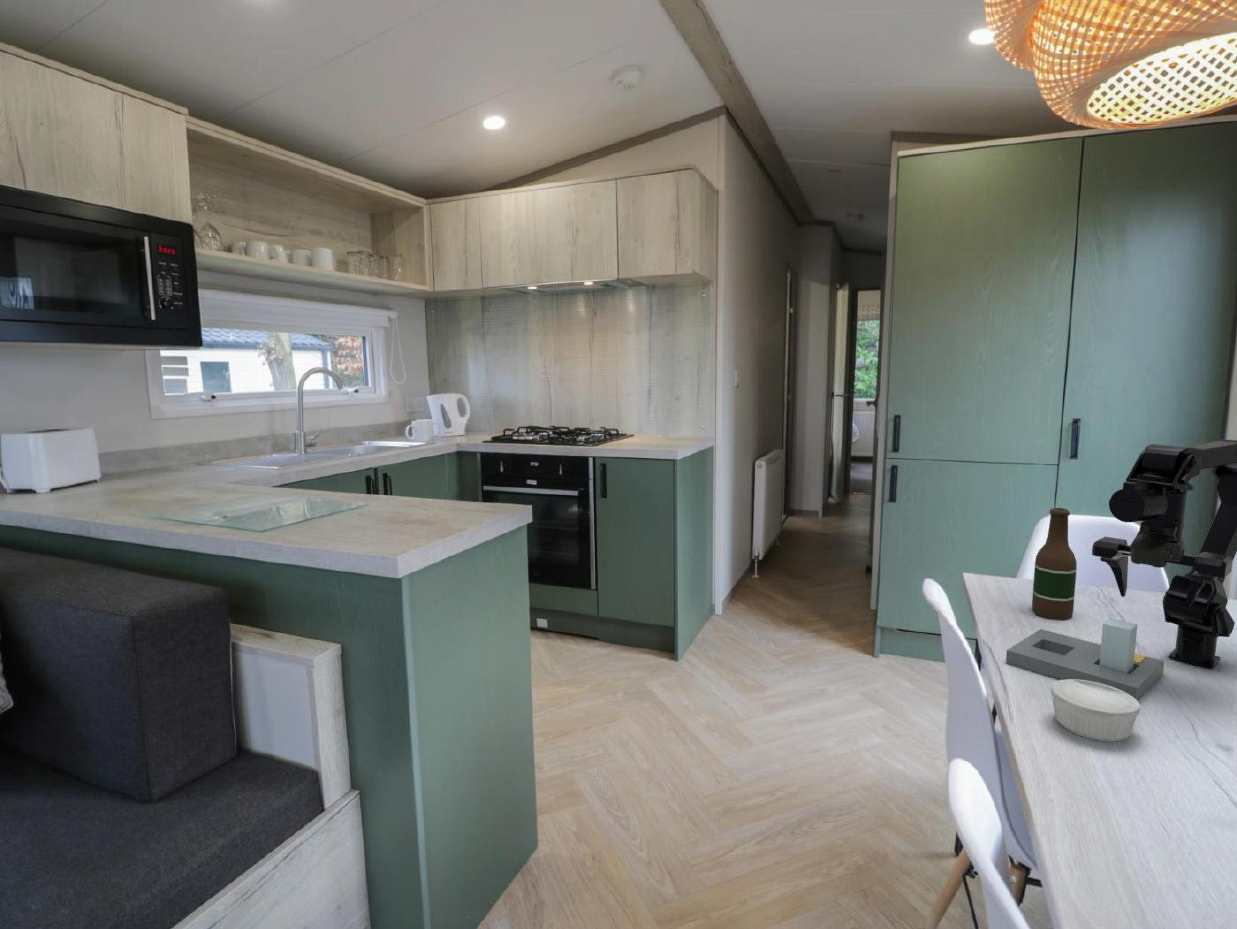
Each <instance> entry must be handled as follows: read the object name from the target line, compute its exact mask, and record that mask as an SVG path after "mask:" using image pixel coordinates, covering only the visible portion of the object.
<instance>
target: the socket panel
mask: <svg viewBox="0 0 1237 929" xmlns="http://www.w3.org/2000/svg"><path fill="white" fill-rule="evenodd" d="M1100 652H1101V644H1100V643H1096V642H1093V641H1089V640H1084V639H1081V638H1077V637H1073V636H1068V635H1065V634H1063V633H1062V634H1061V633H1058V632H1055V631H1050V630H1046V629H1043V628H1040V629H1038V630H1037V631H1035V632H1033V633H1032V634H1030V635H1029V636H1027V637H1026V638H1024V639H1023V640H1020V641H1018V642H1017V643H1016V644H1014V645H1013V646H1011V647H1009V648H1008V649H1007V650H1006V655H1005V656H1006V657H1005V658H1006V659H1005V663H1006V664H1008V665H1012V666H1015V667H1018V668H1021V669H1025V670H1029V671H1032V672H1035V673H1038V674H1041V675H1045V676H1048V677H1052V678H1054V679H1057V680H1066V679H1078V680H1087V681H1092V682H1097V683H1101V684H1105V685H1108V686H1111V687H1114V688H1116V689H1119V690H1121V691H1123V692H1125V693H1127V694H1129V695H1131V696H1132V697H1134V698H1135V699H1136V700H1137V701H1138V700H1139V699H1141V697H1142V696H1144V694H1146V692H1147V691H1148V690H1149V689H1150V688H1151V687H1152V686H1153V685H1154V684H1155V683H1156V682H1157V681H1158V680H1159V679H1160V678H1161V677H1162V676H1163V675H1164V669H1165V668H1164V666H1165V660H1163V659H1157V658H1155V657H1150V656H1148V655H1147V656H1146V655H1143V654H1138V653H1136V652H1135V655H1134V666H1133V672H1132V673H1131V674H1128V673H1125V672H1121V671H1117V670H1114V669H1110V668H1107V667H1103V666H1100V665H1099V663H1100Z"/></svg>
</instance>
